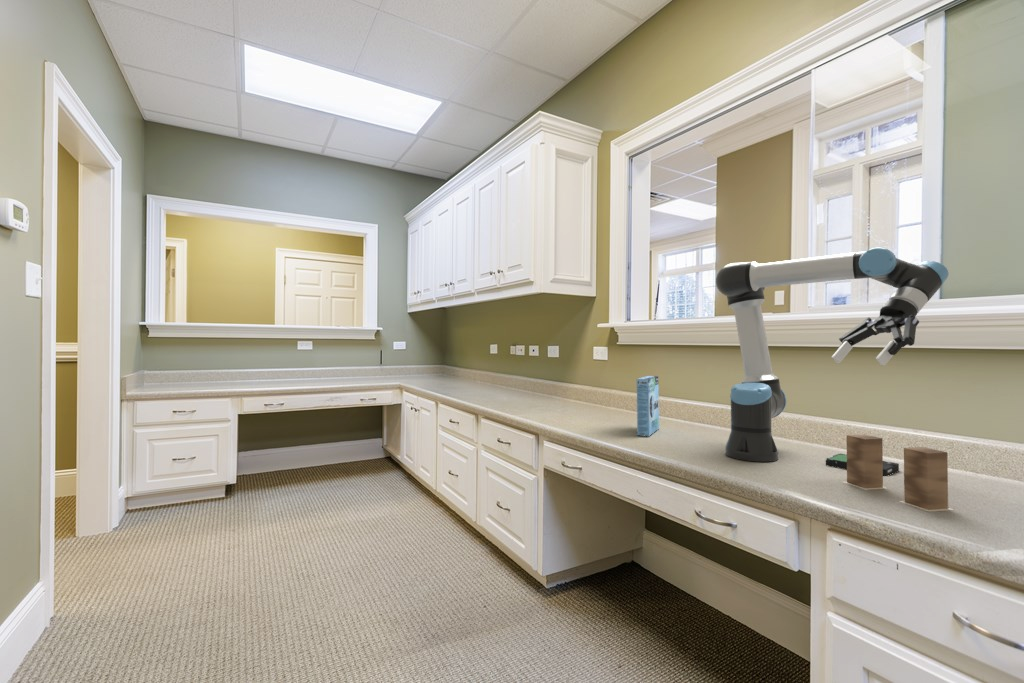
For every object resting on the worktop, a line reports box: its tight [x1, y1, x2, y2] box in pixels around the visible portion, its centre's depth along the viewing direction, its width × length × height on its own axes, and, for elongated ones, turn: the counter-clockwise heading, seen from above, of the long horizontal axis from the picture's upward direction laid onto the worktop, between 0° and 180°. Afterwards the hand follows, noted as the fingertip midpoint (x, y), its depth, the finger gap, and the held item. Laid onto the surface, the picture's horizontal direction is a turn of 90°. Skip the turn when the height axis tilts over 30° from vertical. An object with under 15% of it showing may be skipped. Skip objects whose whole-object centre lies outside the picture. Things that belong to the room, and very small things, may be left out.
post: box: [846, 433, 884, 489], centre depth 113 cm, size 5×5×12 cm
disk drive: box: [825, 453, 900, 477], centre depth 133 cm, size 10×3×15 cm
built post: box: [903, 446, 949, 510], centre depth 99 cm, size 5×5×12 cm
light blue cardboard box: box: [636, 375, 660, 437], centre depth 188 cm, size 20×5×23 cm, turn 150°
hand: (856, 361), depth 125 cm, fingers open, 13 cm apart
